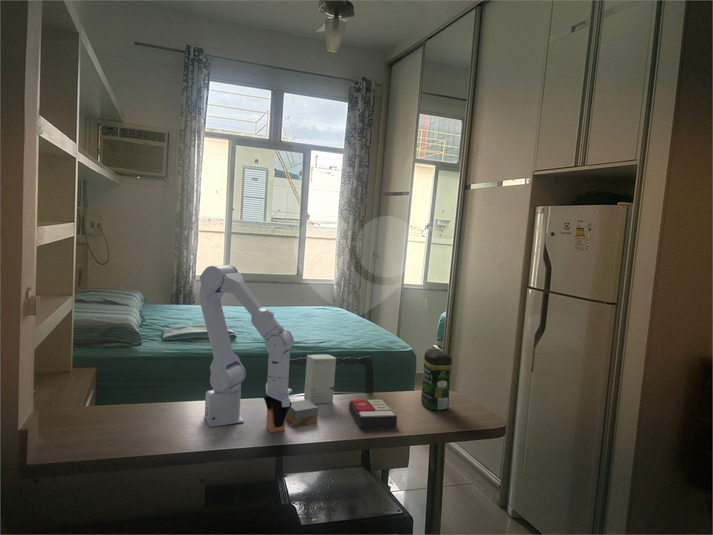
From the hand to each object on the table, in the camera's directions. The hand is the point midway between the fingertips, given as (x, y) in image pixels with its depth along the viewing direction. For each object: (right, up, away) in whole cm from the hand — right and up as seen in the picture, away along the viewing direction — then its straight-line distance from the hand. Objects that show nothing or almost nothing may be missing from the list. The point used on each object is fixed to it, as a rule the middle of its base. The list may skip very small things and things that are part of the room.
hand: (275, 423), depth 131 cm
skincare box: (+10, -1, +23) cm, 25 cm away
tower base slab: (+6, -2, +6) cm, 9 cm away
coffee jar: (+48, -3, +25) cm, 54 cm away
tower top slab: (+6, +1, +6) cm, 9 cm away
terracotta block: (0, -1, 0) cm, 1 cm away
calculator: (+27, -3, +12) cm, 29 cm away
